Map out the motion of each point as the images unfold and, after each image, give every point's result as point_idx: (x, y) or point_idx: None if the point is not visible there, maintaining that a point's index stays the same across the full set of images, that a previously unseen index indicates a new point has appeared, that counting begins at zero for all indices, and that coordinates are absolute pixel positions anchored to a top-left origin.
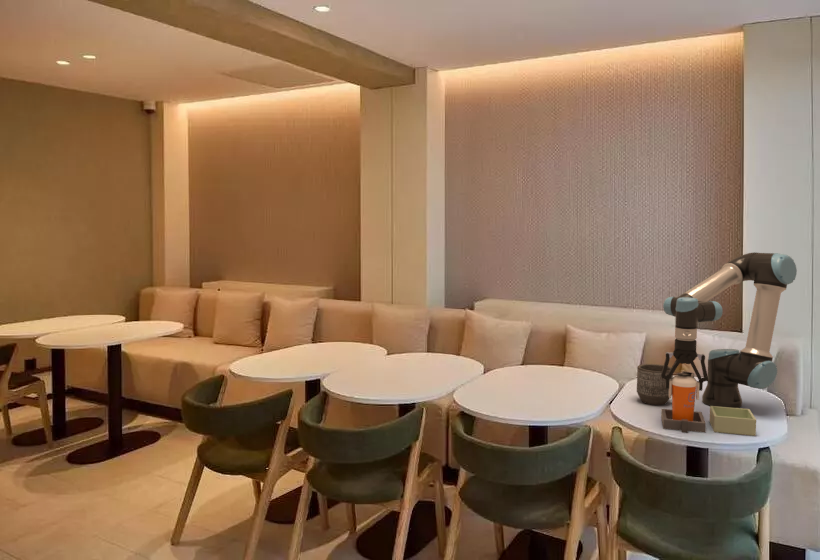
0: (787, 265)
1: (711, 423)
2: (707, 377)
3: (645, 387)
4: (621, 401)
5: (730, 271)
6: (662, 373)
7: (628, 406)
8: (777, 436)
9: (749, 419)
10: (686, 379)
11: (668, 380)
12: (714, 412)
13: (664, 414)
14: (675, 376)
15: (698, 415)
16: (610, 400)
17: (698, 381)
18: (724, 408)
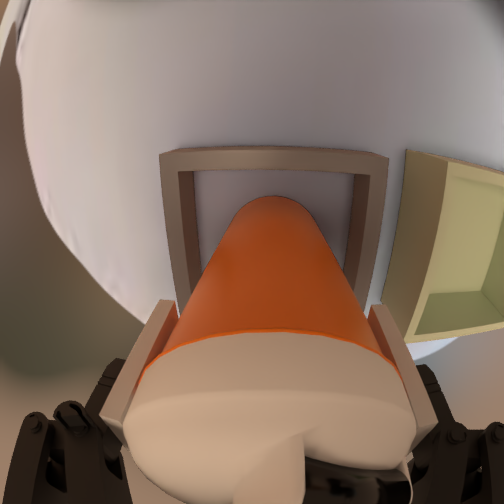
0: None
1: (402, 226)
2: (473, 479)
3: None
4: (45, 6)
5: None
6: (53, 477)
7: (56, 50)
8: None
9: (494, 329)
10: None
11: (114, 440)
12: (428, 288)
13: (180, 263)
14: (162, 489)
15: (365, 182)
16: (19, 22)
17: (427, 431)
18: (494, 183)
